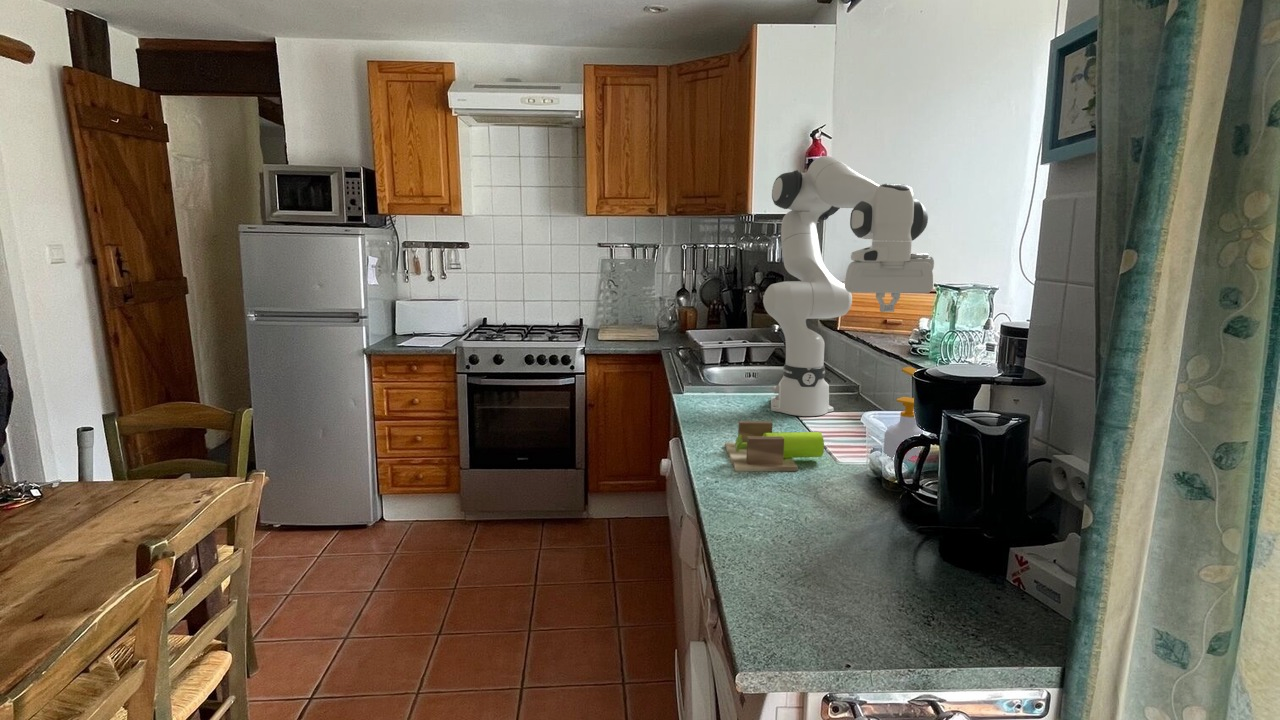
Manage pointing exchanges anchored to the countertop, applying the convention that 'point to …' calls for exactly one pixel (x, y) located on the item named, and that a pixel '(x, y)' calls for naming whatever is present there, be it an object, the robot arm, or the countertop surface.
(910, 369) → the soap bottle
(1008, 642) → the countertop surface
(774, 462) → the u rest
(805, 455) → the soap dispenser
